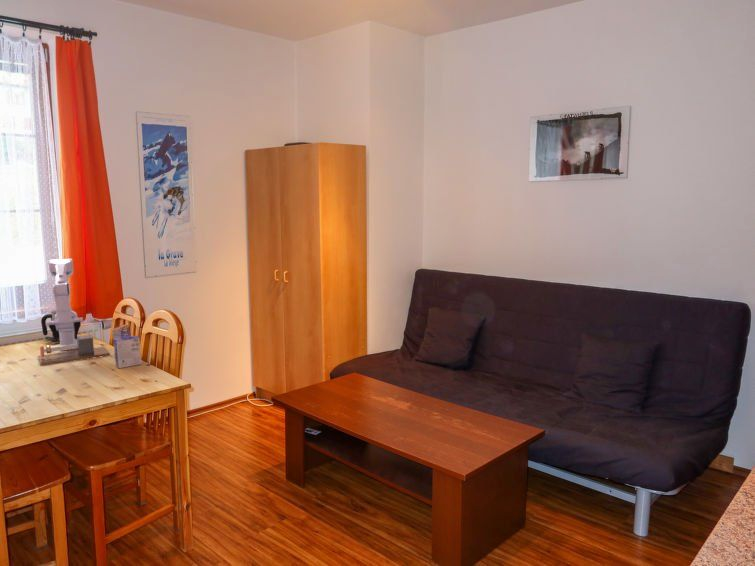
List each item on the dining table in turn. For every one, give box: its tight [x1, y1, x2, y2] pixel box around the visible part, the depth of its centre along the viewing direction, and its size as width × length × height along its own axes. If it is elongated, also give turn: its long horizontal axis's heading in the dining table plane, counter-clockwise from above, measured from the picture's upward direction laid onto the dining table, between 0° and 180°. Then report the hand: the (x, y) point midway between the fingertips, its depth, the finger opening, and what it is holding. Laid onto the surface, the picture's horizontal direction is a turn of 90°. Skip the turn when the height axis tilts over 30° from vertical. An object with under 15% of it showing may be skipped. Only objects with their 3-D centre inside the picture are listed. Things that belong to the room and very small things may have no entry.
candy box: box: [111, 324, 131, 363], centre depth 268 cm, size 9×4×15 cm, turn 177°
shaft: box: [38, 343, 79, 357], centre depth 272 cm, size 19×5×5 cm, turn 123°
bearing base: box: [37, 334, 111, 366], centre depth 275 cm, size 28×14×9 cm, turn 123°
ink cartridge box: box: [112, 332, 142, 369], centre depth 260 cm, size 10×6×14 cm, turn 129°
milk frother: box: [40, 309, 60, 344], centre depth 306 cm, size 14×16×15 cm
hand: (66, 340), depth 266 cm, fingers open, 7 cm apart
